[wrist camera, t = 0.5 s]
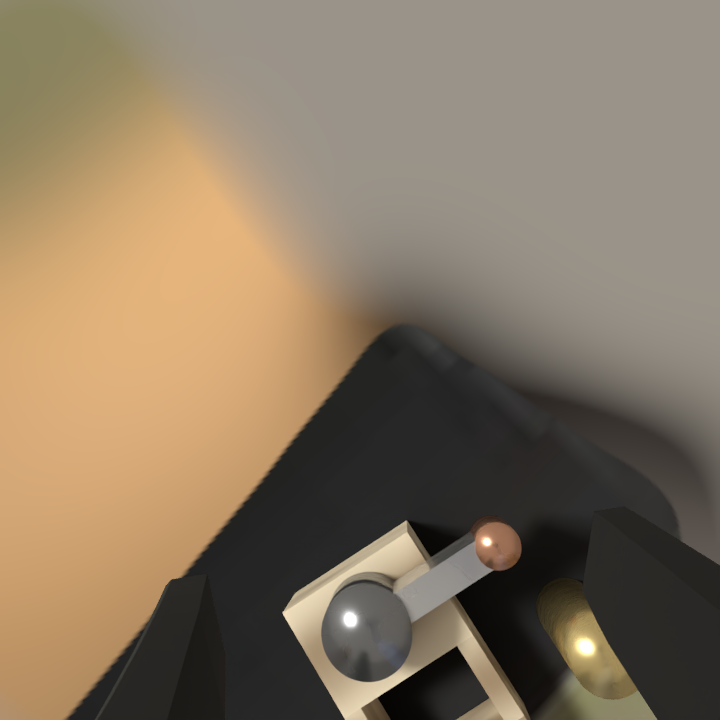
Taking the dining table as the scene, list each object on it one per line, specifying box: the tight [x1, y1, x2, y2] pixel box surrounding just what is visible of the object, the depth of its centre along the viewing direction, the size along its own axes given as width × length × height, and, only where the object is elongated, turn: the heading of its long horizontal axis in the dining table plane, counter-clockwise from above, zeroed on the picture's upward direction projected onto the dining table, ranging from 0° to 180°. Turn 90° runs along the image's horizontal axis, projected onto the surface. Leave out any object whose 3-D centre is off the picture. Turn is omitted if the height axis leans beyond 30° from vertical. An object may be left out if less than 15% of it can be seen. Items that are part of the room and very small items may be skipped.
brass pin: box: [536, 578, 638, 700], centre depth 29 cm, size 3×3×7 cm
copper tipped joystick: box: [321, 515, 521, 682], centre depth 28 cm, size 4×11×3 cm, turn 123°
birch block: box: [283, 521, 531, 720], centre depth 31 cm, size 12×8×4 cm, turn 33°
